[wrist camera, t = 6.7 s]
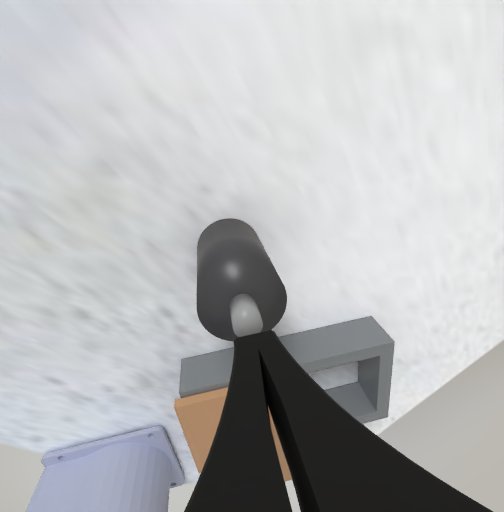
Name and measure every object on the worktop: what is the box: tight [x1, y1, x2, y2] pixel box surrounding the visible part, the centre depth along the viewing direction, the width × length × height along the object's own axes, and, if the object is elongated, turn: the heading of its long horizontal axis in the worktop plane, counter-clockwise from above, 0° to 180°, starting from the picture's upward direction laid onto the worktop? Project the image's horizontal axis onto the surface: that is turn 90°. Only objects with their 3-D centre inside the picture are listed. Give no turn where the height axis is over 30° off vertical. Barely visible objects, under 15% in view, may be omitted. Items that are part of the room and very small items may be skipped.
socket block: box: [179, 316, 395, 424], centre depth 23 cm, size 15×8×3 cm, turn 98°
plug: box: [197, 219, 287, 341], centre depth 15 cm, size 4×4×8 cm
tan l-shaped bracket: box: [174, 387, 292, 481], centre depth 20 cm, size 7×7×3 cm
